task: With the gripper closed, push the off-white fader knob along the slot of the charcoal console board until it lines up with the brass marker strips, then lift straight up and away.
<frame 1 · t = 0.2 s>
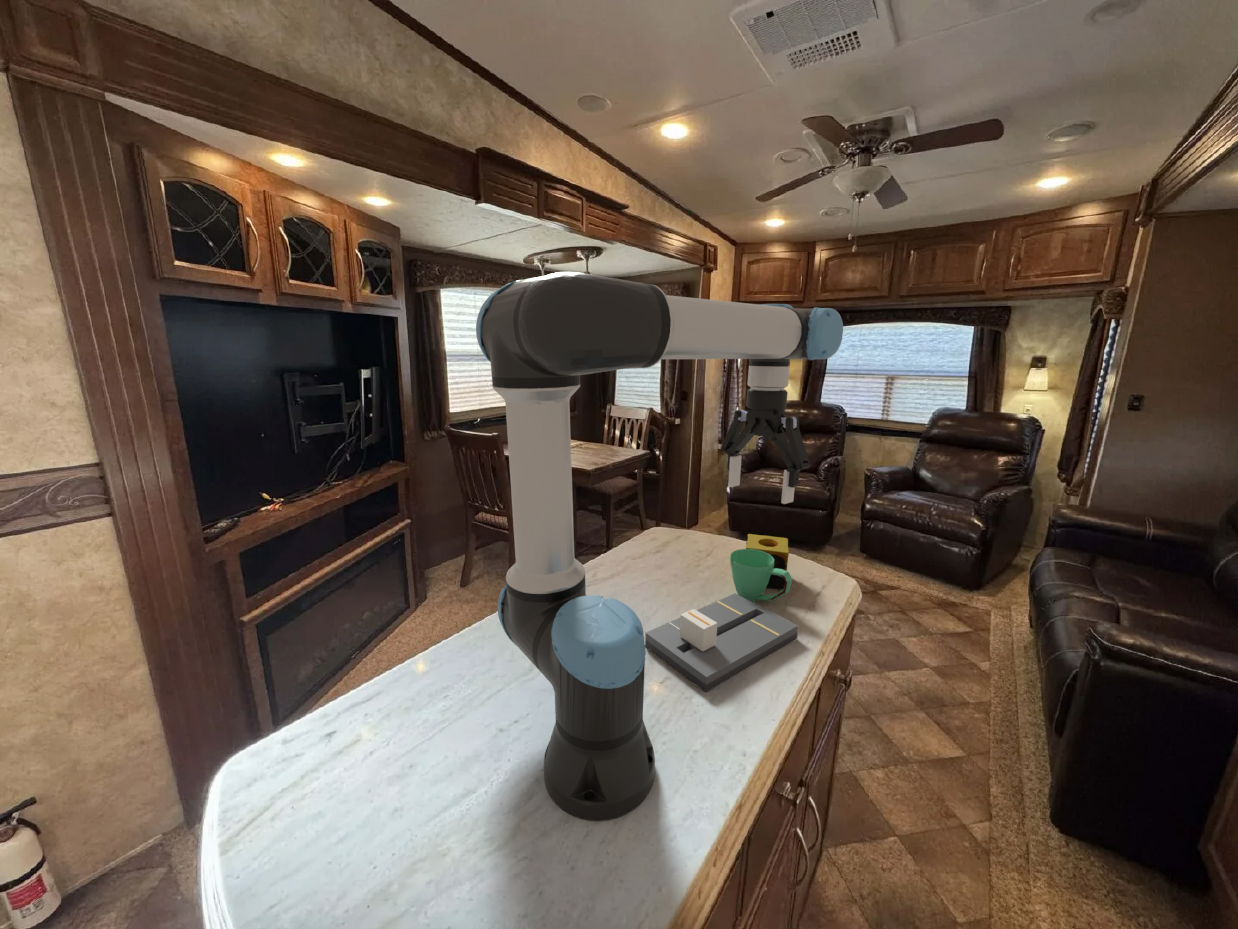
hand: (759, 493, 98), 28 cm above the kitchen island, fingers open, 13 cm apart
fader tab: (697, 632, 90), point 5 cm above the kitchen island, slide at 0.0 cm
console: (722, 642, 95), on the kitchen island
mug: (758, 601, 111), on the kitchen island
yellow cube with holes: (763, 580, 121), on the kitchen island
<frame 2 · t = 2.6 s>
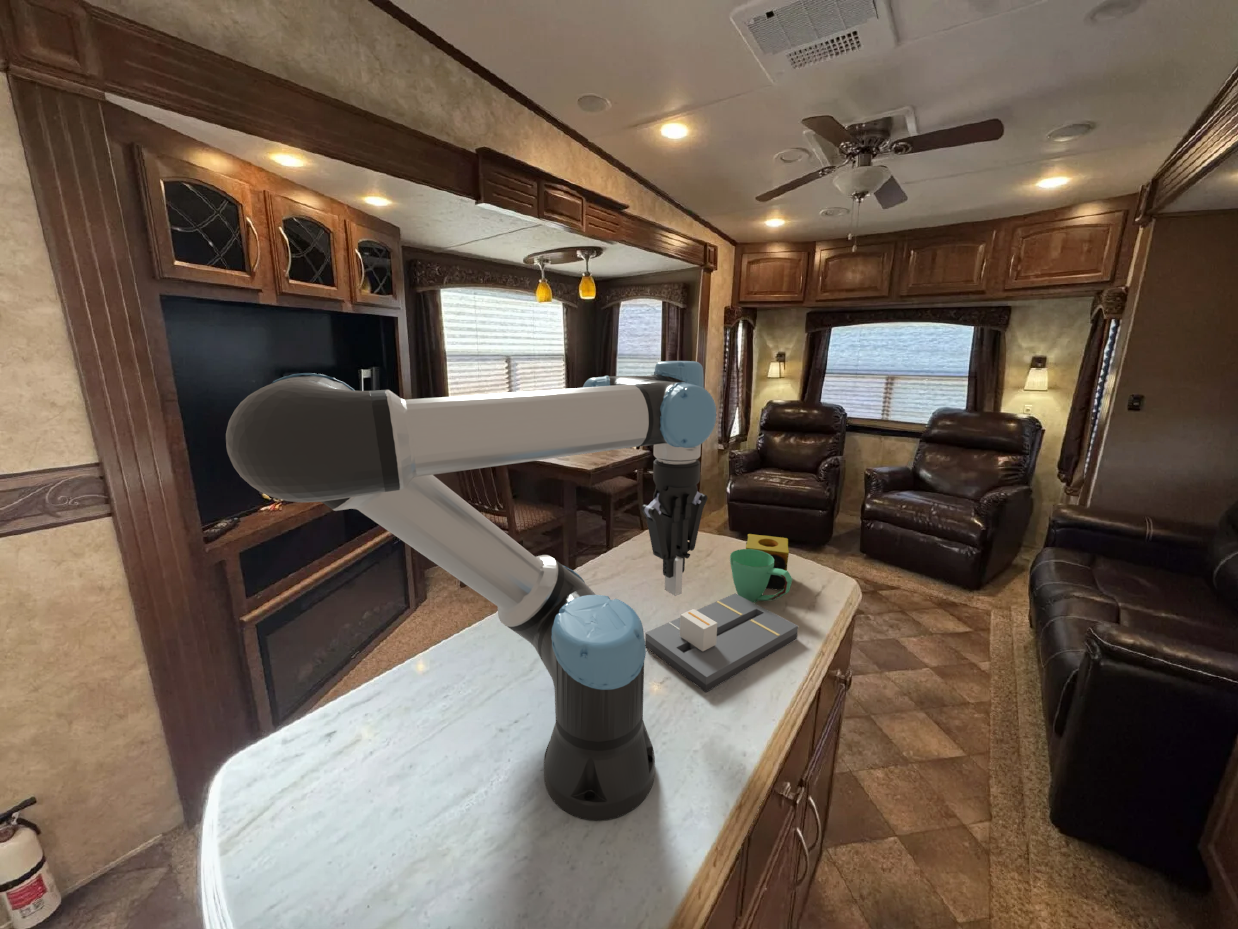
hand: (673, 591, 84), 15 cm above the kitchen island, fingers closed
nothing on the kitchen island moved.
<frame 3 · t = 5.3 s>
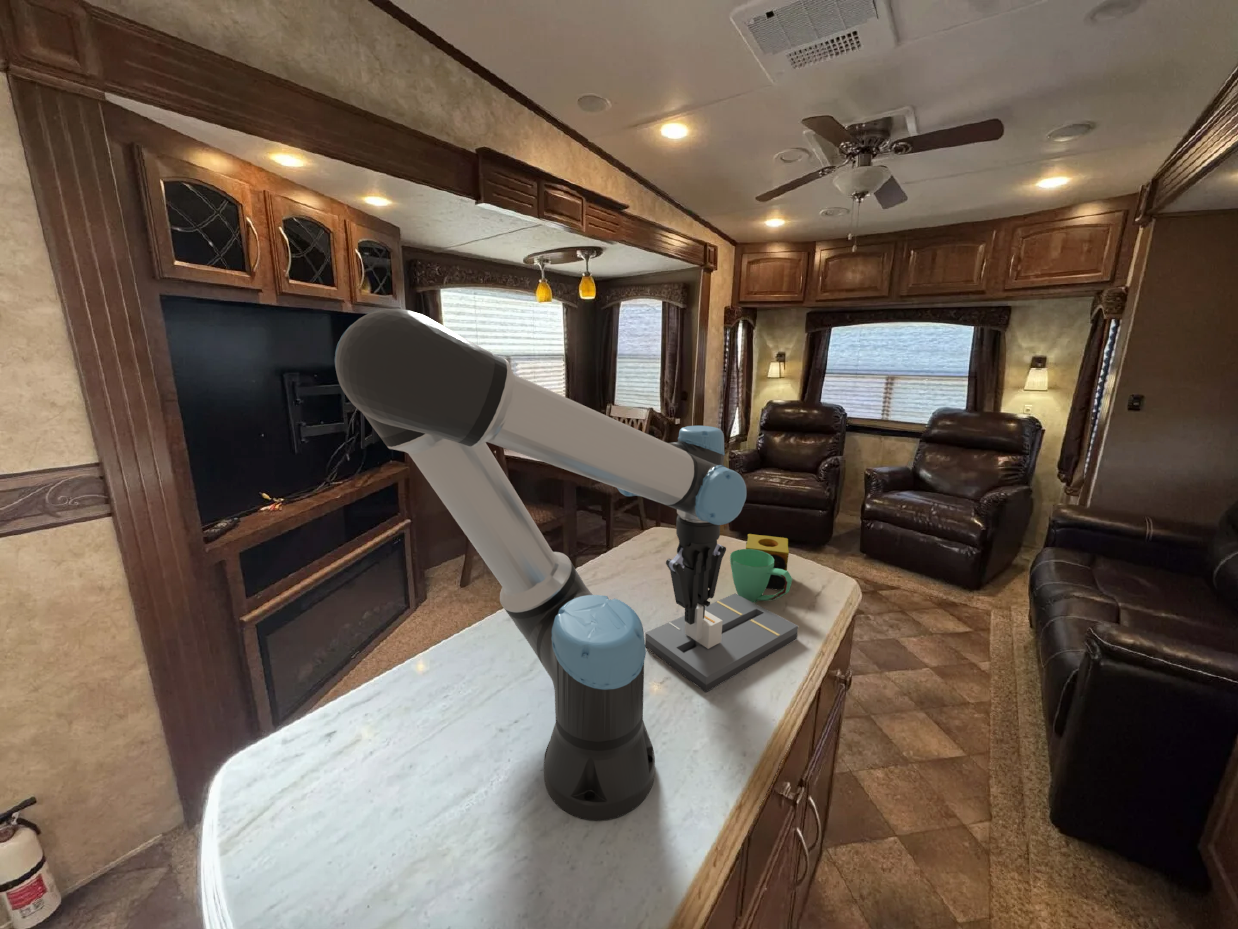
hand: (693, 636, 89), 5 cm above the kitchen island, fingers closed
fader tab: (703, 630, 91), point 5 cm above the kitchen island, slide at 1.4 cm, touching gripper
everything else where it was.
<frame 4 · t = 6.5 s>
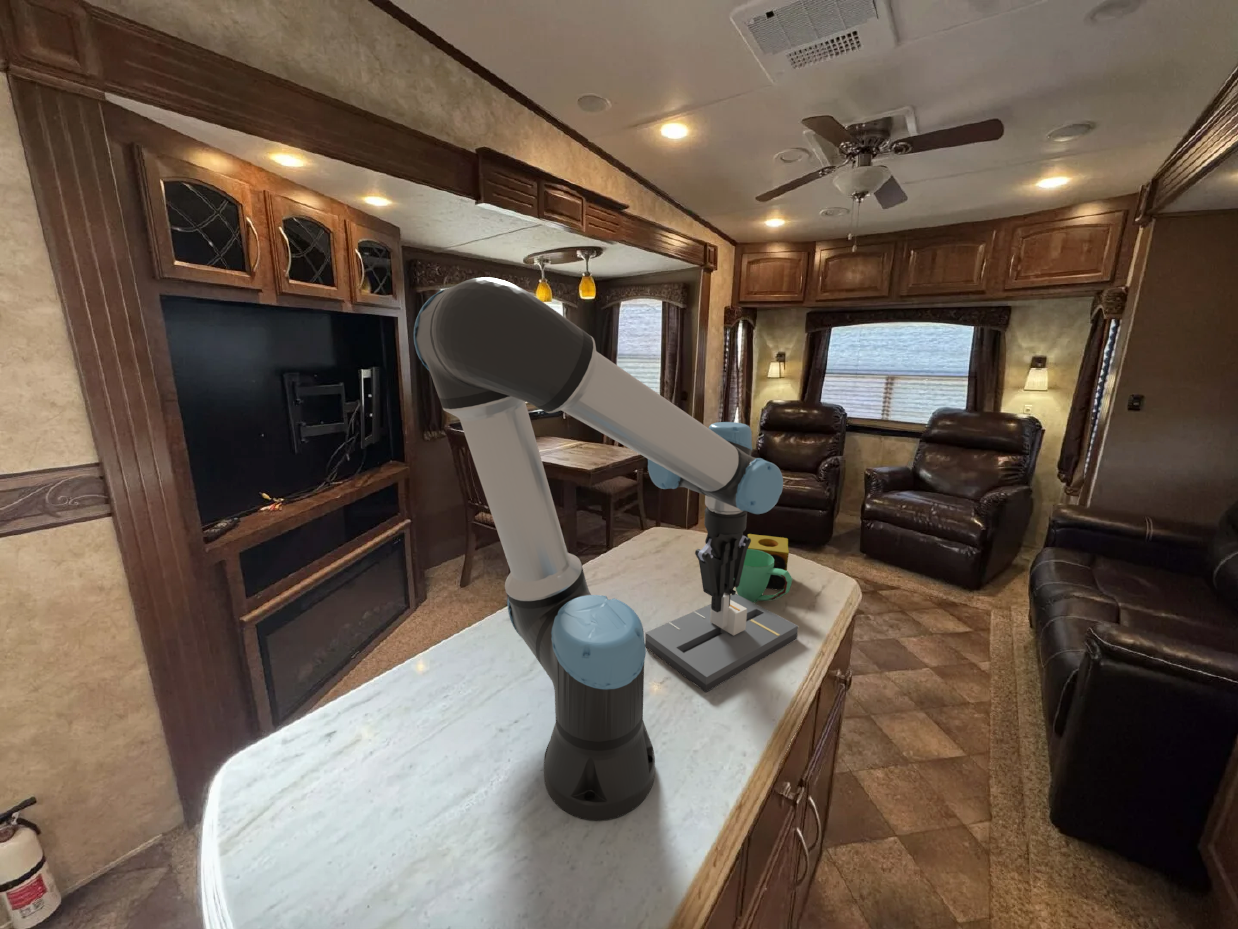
hand: (719, 623, 93), 5 cm above the kitchen island, fingers closed
fader tab: (728, 618, 95), point 5 cm above the kitchen island, slide at 8.4 cm, touching gripper
everything else where it was.
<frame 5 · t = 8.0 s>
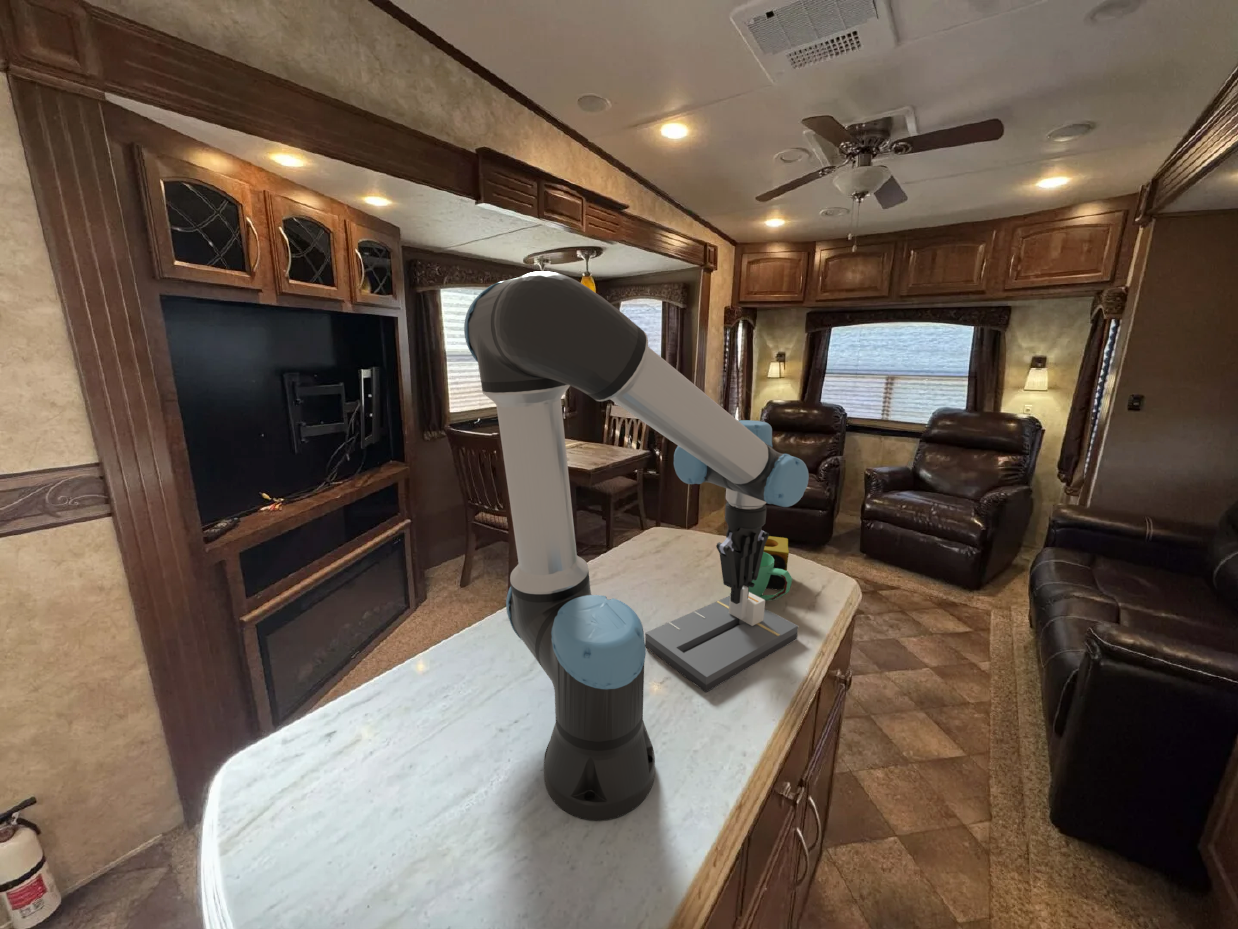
hand: (738, 615, 97), 4 cm above the kitchen island, fingers closed
fader tab: (746, 609, 98), point 5 cm above the kitchen island, slide at 13.9 cm, touching gripper
everything else where it was.
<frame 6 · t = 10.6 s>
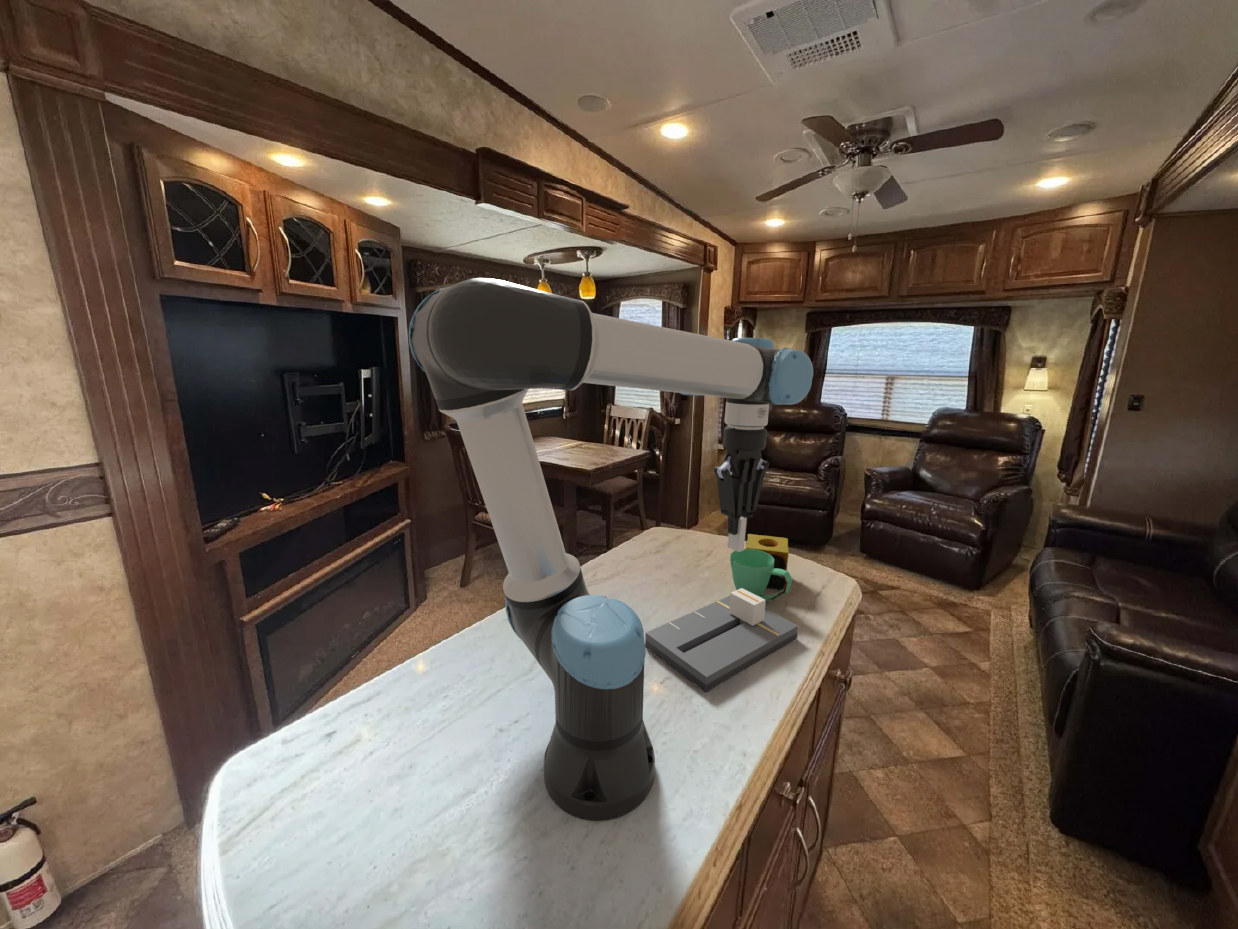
hand: (735, 548, 92), 19 cm above the kitchen island, fingers closed
fader tab: (746, 609, 98), point 5 cm above the kitchen island, slide at 14.0 cm
everything else where it was.
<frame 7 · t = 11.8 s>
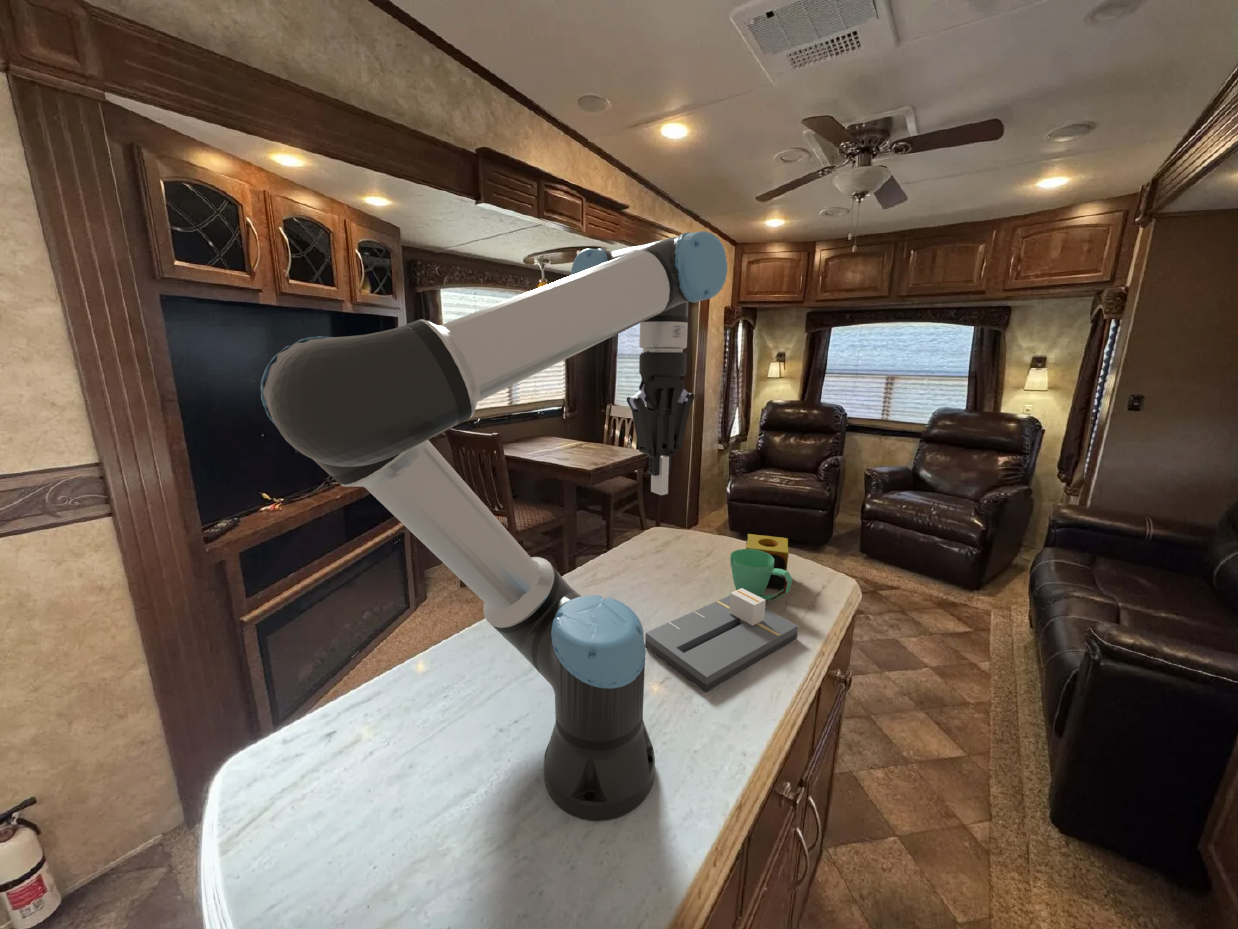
hand: (659, 492, 83), 32 cm above the kitchen island, fingers closed
nothing on the kitchen island moved.
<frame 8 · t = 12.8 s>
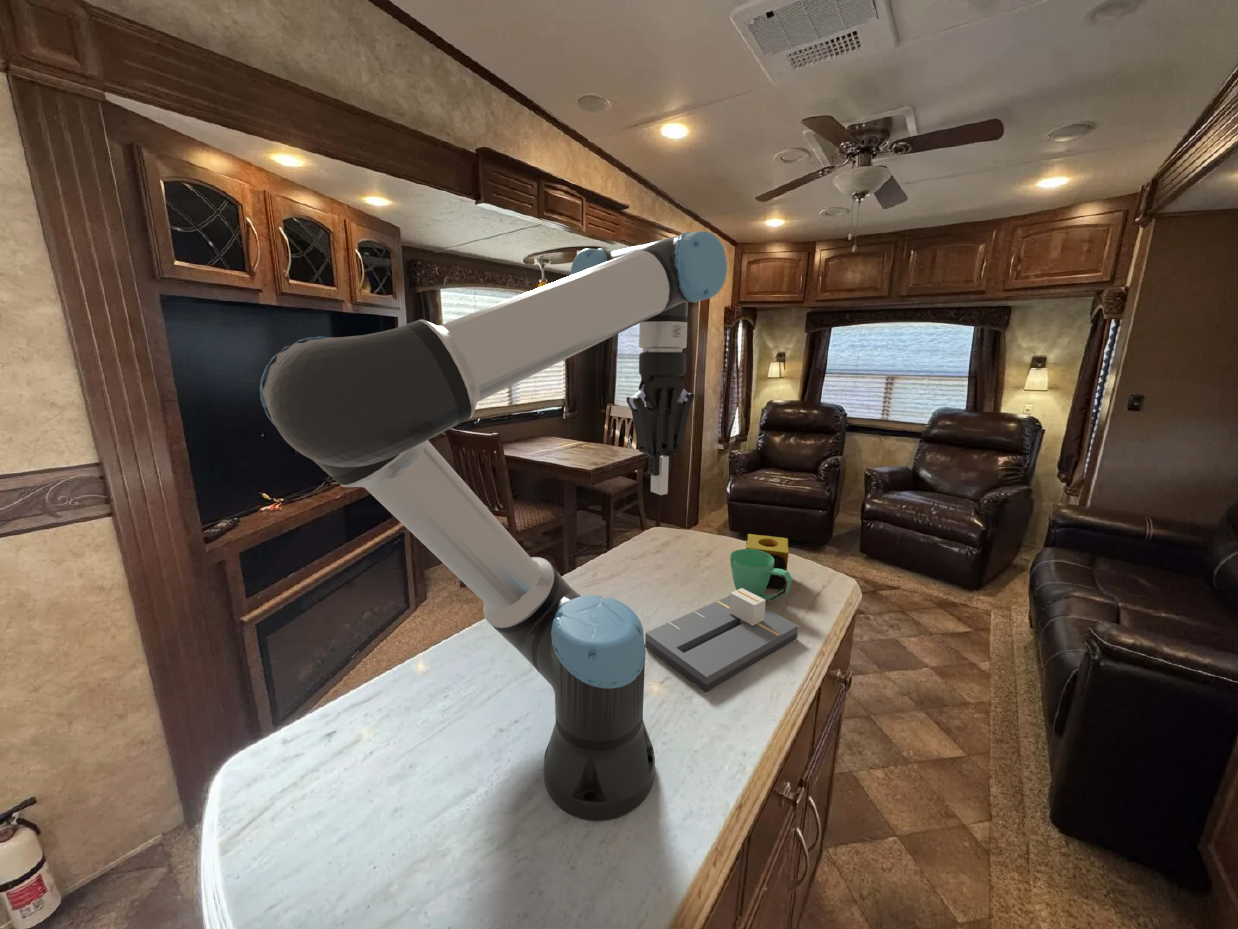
hand: (659, 492, 83), 32 cm above the kitchen island, fingers closed
nothing on the kitchen island moved.
at the end: fader tab slide at 14.0 cm; fader tab touching nothing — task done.
